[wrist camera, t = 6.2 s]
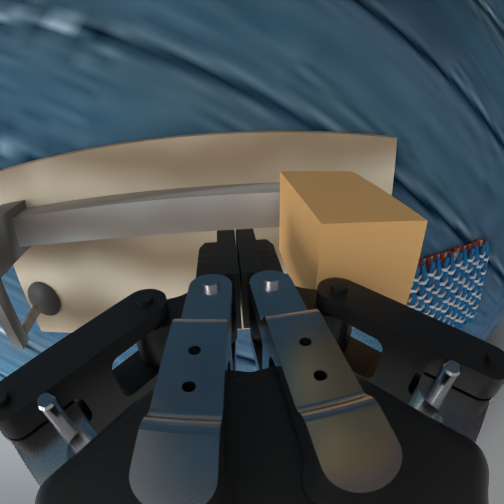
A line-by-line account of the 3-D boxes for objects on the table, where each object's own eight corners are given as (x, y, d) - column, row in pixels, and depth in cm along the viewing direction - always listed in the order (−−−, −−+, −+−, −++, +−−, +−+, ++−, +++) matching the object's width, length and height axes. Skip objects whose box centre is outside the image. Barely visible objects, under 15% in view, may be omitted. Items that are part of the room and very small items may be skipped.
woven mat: (391, 344, 28) (399, 358, 27) (398, 257, 23) (410, 270, 22) (467, 314, 28) (476, 324, 26) (483, 231, 23) (496, 240, 21)
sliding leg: (276, 167, 16) (321, 224, 9) (345, 167, 16) (427, 220, 9) (274, 306, 20) (299, 404, 13) (331, 300, 21) (374, 390, 14)
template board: (-3, 170, 16) (-64, 203, 10) (388, 135, 18) (454, 157, 12) (46, 322, 22) (16, 378, 16) (363, 306, 25) (398, 365, 18)
